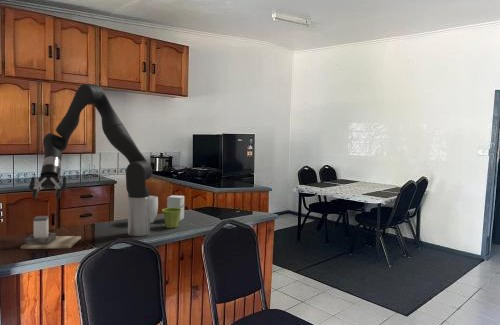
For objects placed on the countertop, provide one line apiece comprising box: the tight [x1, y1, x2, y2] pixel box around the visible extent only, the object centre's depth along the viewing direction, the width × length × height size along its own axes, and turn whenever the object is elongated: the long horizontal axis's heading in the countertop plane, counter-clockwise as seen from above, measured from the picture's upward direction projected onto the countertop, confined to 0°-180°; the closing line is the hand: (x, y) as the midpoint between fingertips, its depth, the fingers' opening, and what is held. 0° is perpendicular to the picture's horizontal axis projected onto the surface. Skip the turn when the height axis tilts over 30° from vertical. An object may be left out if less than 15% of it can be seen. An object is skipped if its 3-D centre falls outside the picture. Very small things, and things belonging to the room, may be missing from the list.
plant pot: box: [161, 207, 182, 229], centre depth 187 cm, size 9×9×9 cm
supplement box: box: [166, 194, 185, 222], centre depth 203 cm, size 7×7×13 cm
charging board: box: [20, 232, 82, 250], centre depth 154 cm, size 18×14×4 cm
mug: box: [149, 195, 159, 224], centre depth 193 cm, size 15×11×13 cm
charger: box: [32, 215, 50, 238], centre depth 152 cm, size 4×4×10 cm
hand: (46, 197), depth 162 cm, fingers open, 8 cm apart
